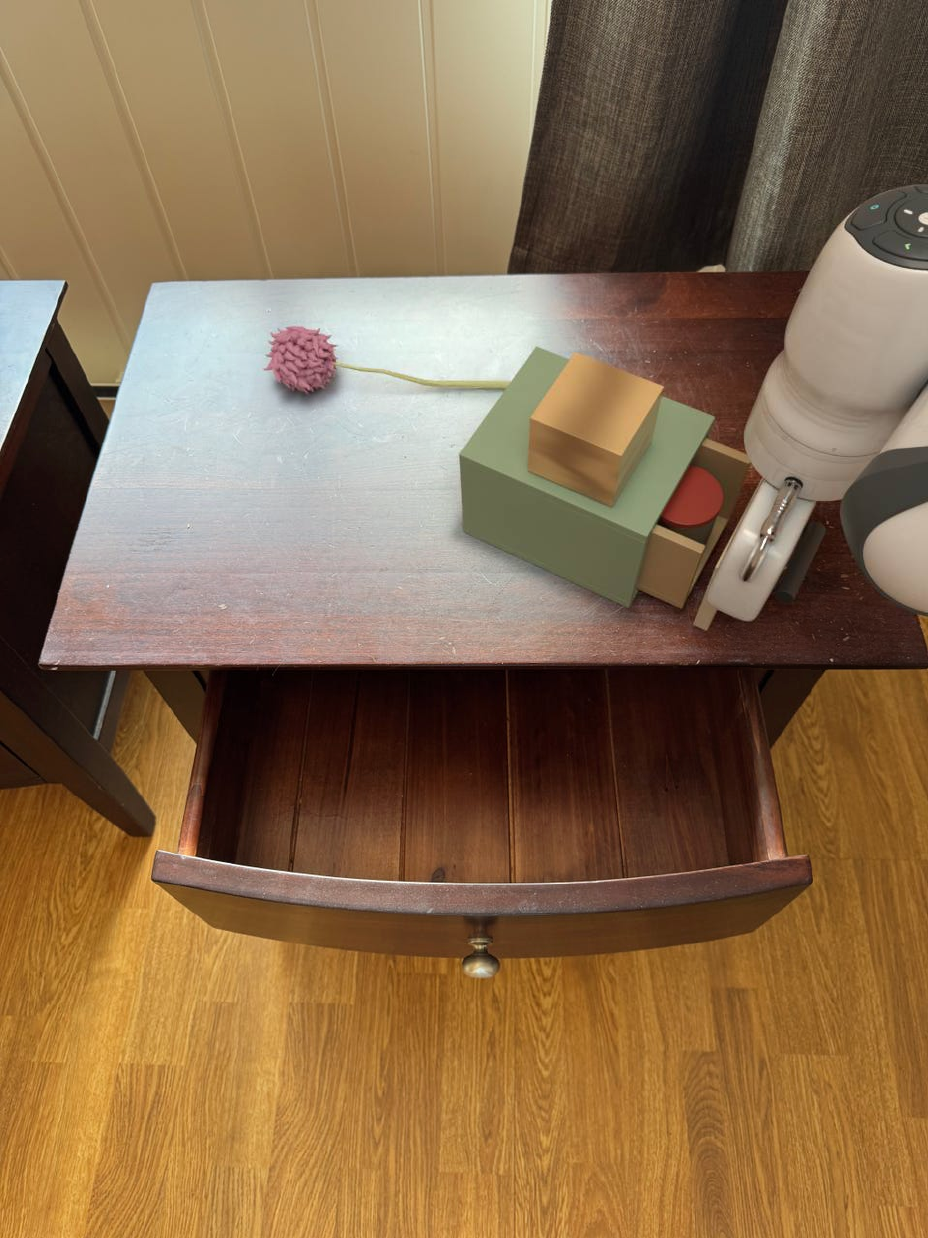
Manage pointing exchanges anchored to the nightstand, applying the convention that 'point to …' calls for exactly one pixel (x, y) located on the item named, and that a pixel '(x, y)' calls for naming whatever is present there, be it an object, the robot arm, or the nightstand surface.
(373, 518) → the nightstand surface
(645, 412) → the riser
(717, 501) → the tin
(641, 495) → the cabinet
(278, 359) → the artificial flower
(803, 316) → the robot arm
